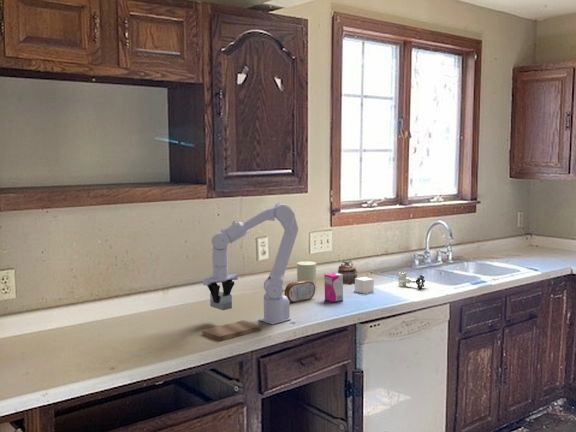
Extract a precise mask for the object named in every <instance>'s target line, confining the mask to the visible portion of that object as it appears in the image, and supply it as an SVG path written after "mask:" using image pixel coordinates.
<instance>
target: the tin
mask: <svg viewBox="0 0 576 432" xmlns="http://www.w3.org/2000/svg"><path fill="white" fill-rule="evenodd" d="M315 293H316V288H315V285H314V283H313V282H311V281H309V280H303V281H297V280H295V281H292V282H289V283H288V284H287V285H286V287H285V288H284V295H285V296H286V297H287V298H288V300H289V302H292V303H298V302H303V301H308V300H311V299H312V298H313V297H314V296H315Z"/></svg>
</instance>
